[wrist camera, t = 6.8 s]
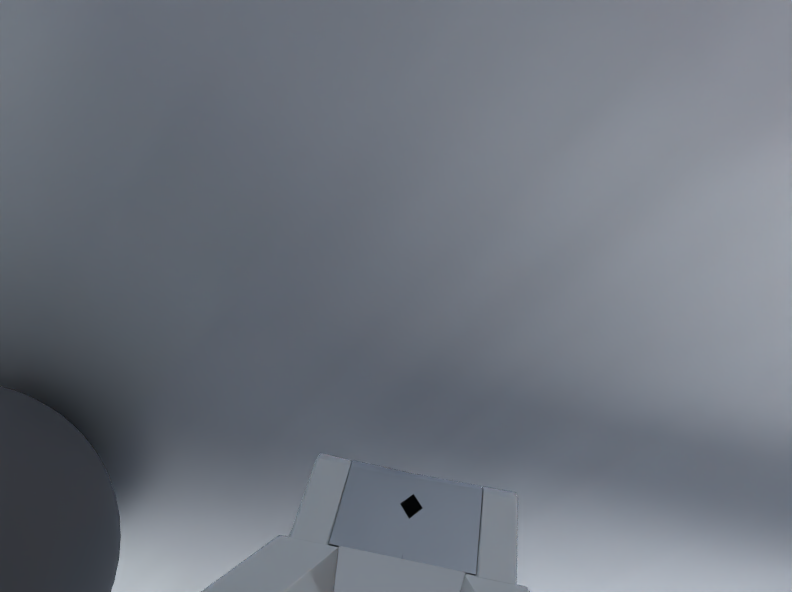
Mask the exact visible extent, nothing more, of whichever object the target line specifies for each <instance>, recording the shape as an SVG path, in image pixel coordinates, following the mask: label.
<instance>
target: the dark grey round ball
mask: <svg viewBox="0 0 792 592" xmlns="http://www.w3.org/2000/svg"><path fill="white" fill-rule="evenodd" d="M120 538H121V534H120V517H119V511H118V506H117V501H116V496H115V492H114V489H113V486H112V484H111V481H110V478H109V475H108V472H107V471H106V469H105V467H104V465H103V463H102V461H101V459H100V457H99V456H98V454H97V452H96V451H95V450H94V448H93V447H92V446H91V444H90V443H89V442H88V440H87V439H86V438H85V437H84V435H83V434H82V433H81V432H80V431H79V430H78V429H76V428H75V427H74V426H73V425H72V424H71V423H70V422H69V421H68V420H67V419H66V418H65V417H63V416H62V415H61V414H59V413H58V412H56V411H55V410H53V409H52V408H50V407H49V406H47V405H45V404H43V403H42V402H40V401H38V400H36V399H34V398H32V397H30V396H28V395H25V394H23V393H21V392H18V391H15V390H12V389H9V388H5V387H1V386H0V592H111V589H112V586H113V583H114V580H115V575H116V570H117V566H118V561H119V551H120Z"/></svg>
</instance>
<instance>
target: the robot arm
mask: <svg viewBox="0 0 792 592" xmlns="http://www.w3.org/2000/svg"><path fill="white" fill-rule="evenodd" d="M517 531H518V497H517V495H516V493H515V492H510V491H505V490H499V489H494V488H489V487H484V486H483V487H481V486H478V485H473V484H468V483H463V482H457V481H452V480H447V479H442V478H436V477H431V476H426V475H421V474H413V473H409V472H404V471H400V470H396V469H391V468H387V467H382V466H378V465H374V464H369V463H365V462H360V461H356V460H348V459H344V458H340V457H335V456H331V455H327V454H322V453H320V455H319V456H318V458H317V459H316V461H315V463H314V466H313V469H312V472H311V475H310V478H309V481H308V484H307V487H306V489H305V492H304V495H303V498H302V501H301V504H300V507H299V510H298V512H297V515H296V518H295V521H294V524H293V527H292V530H291V533H290V535H289V537H287V536H282V535H279V536H277V537H276V538H274V539H273V540H272V541H270V542H269V543H268V544H266V545H265V546H263V547H262V548H261V549H259V550H258V551H256V552H255V553H254V554H252V555H251V556H250V557H248V558H247V559H245V560H244V561H243V562H241V563H240V564H238V565H237V566H236V567H234V568H233V569H232V570H230V571H229V572H227V573H226V574H225V575H223V576H222V577H220V578H219V579H218V580H216V581H215V582H214V583H212V584H211V585H209V586H208V587H207V588H205V589H204V590H202V591H201V592H530V591H529V590H528V588H527V587H525V586H521V585H517Z"/></svg>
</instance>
